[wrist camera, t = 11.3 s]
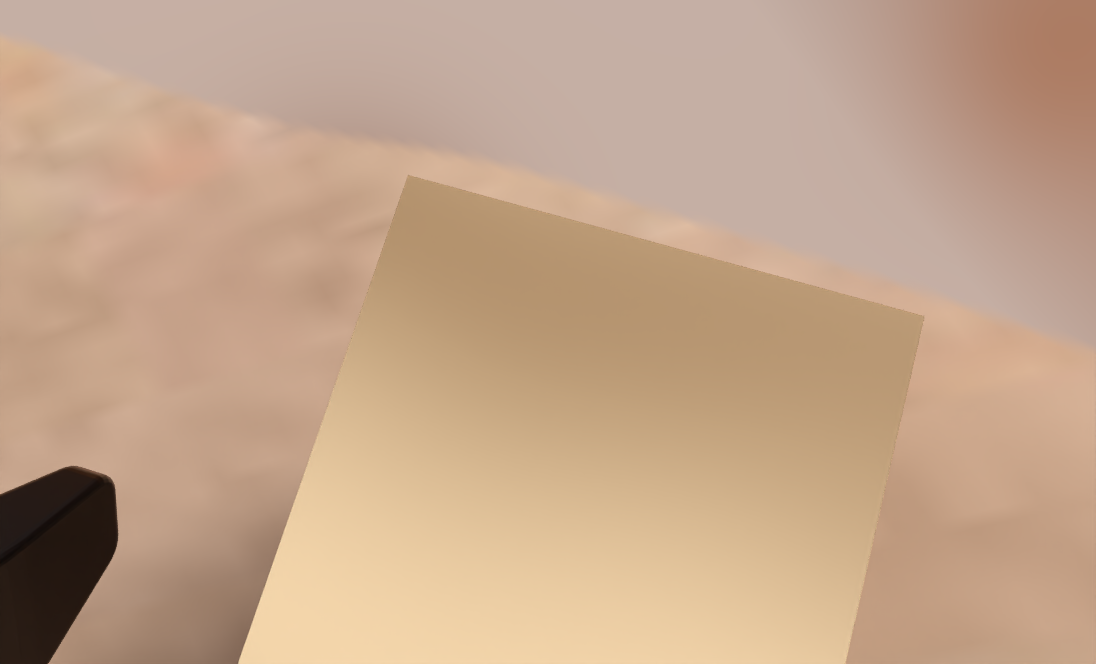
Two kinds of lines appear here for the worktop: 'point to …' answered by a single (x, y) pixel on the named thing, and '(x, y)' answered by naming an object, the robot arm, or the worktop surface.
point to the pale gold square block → (586, 455)
